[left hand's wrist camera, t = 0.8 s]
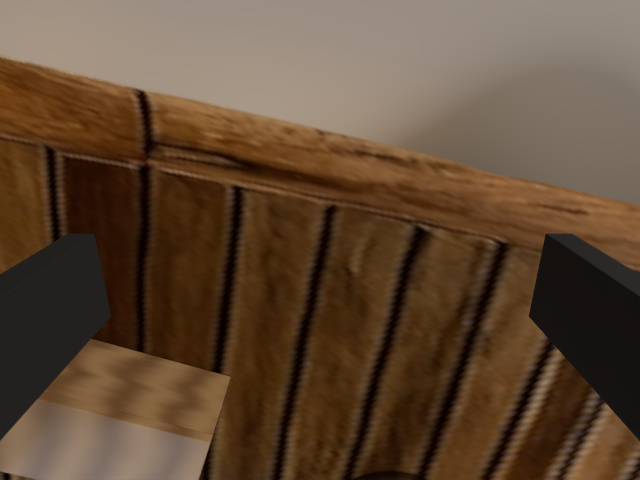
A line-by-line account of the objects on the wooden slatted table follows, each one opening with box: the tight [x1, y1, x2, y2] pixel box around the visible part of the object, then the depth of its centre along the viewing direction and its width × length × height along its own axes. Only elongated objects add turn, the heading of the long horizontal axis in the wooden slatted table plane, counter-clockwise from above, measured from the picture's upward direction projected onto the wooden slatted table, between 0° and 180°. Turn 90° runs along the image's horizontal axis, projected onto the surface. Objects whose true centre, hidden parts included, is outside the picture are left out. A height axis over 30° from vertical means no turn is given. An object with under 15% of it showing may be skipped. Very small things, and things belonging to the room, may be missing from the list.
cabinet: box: [0, 339, 230, 480], centre depth 42 cm, size 18×10×9 cm, turn 71°
